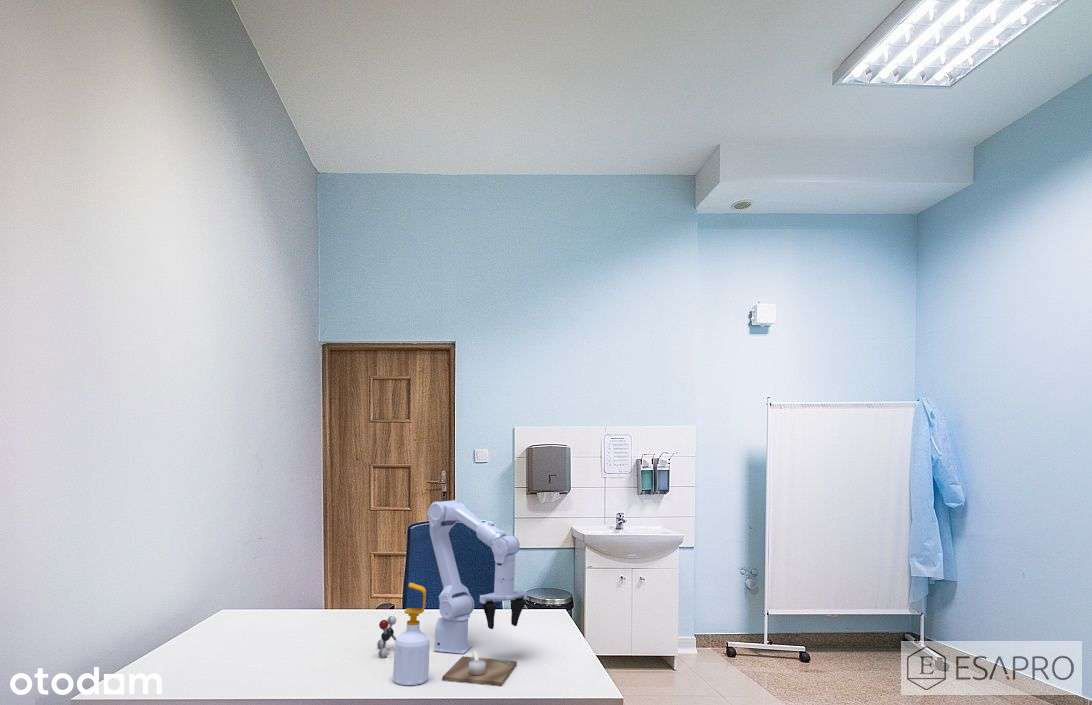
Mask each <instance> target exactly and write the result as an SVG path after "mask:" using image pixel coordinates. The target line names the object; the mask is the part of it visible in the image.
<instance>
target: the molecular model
mask: <svg viewBox="0 0 1092 705" xmlns="http://www.w3.org/2000/svg"><path fill="white" fill-rule="evenodd" d="M395 624H397V617H396V616H394V615H390V616H388V618H387V619H382V620H380V621H379V624H378V627H379V628H380V629H381V630H382V631H383V632H382V633H381V636H380V639H379V640H378V641H377V642H376V645H377V646H376V647H378V648H379V650H378V653H377V654H378V656H379V657H380V658H381V659H384V658H386V657H387V656H388V654H389V652H388V649H387V648H386V646H387V641H389V640H390V639H391V638H392V639H393V640H394V641H395V640H396V638H397V637H396V636H395V634H394V633H395V632H394V631H395V630H394V629H393V628H392V627H393V626H394V625H395Z"/></svg>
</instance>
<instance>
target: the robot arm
mask: <svg viewBox="0 0 1092 705" xmlns="http://www.w3.org/2000/svg"><path fill="white" fill-rule="evenodd" d="M426 514H427V519H428V523H429V536H430V539H431V540H430V541H431V543H432V548H433V552H434V555H435V560H436V564H437V568H438V572H439V575H440V579H441V584H442V588H443V589H442V590H441V593H439V595H438V601H439V608H438V609H439V614H440V616H441V617H439V618H437V621H436V623H435V629H434V630H435V632H434V648H433V652H438V651H439V652H440V653H451V654H460V655H461V654H463V655H464V654H465V653H466V652H468V650H470V648H471V647H472V644H468V635H469V632H468V631H469V619H470V618H471V614H472V613H473V612H474V608H475V601H474V598H473V597H472V595H471V594H470V592H469V591H470V590H469V588H467V587H466V585H464V584H463V583H462V581H461V578H460V574H459V570H458V566H457V563H456V558H455V555H454V554H455V553H454V550H453V546H452V542H451V539H450V535H449V533H450V531H451V529H452V528H453V527H454V525H456V524H457V522H460V523H462V524H463V525H465V526H466V527H468V528H469V529H471V530H473V531H474V532H476V537H477V538H478V539H479V540H480V541H481V542H483V543H484V544H485V545H487V546H488V547H490V548H491V551H492V554H493V556H494V557H493V558H494V562H495V563H494V584H493V586H494V588H493V592H491V593H487V594H480V595H479V603H480V605H481V607H482V608H483V611H484V614H485V619H486V622H487V628H488V629H490V630H494V628H495V614H496V610H497V605H496V604H495V602H505V601H509V602H510V608H511V618H510V620H511V621H510V622H511V625H512V626H513V627H517V626H518V623H519V619H520V616H521V614H522V611H523V609H524V608H525V606H526V600H528V592H526V591H523V590H521V591H520V590H519V591H515V575H516V574H515V572H516V569H515V567H516V554H518V552H519V550H520V546H521V545H520V541H519V539H518V538H517V537H516V535H515V534H506V531H505V530H501V529H499V527H498V526H497V525H496V526H495V523H494V522H493V521H484V522H483V521H482V520H481V519H479V517H477V516H476V515H475V514H474V513H473V512H472V511H470V510H469V509H468V508H466V505H465V504H464V503H462V502H461V501H460V500H457V499H452V500H444V501H433V502H432V503H431V504H430V507H429V508H428V510H427V512H426Z"/></svg>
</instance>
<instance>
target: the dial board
mask: <svg viewBox="0 0 1092 705" xmlns="http://www.w3.org/2000/svg"><path fill="white" fill-rule="evenodd" d="M478 660H481V661H485V662H486V666H485V674H483V675H472V674H469V662H470V661H473V656H463V655H462V656H461V657H460V658H459V659H458V660H457V661H456V662H455V663H454V664H453V665H452V666H451V667H450V668H449V669H448V670H447V671H446V672H445V673H444V674H443V675H442V679H441V681H442V680H448V681H447V682H453V681H457V682H456V683H463V682H468V683H467V684H473V683H479V684H478V685H484V684H491V685H490V686H494V685H499V686H498V687H502V686H503V685H502V684H504V683H505V682H506V680H507V679H508V678H509V676H510V675H511V674H510V673H512V672H513V671H514V669H515V668H516V667H517V665H518V661H517V660H508V659H507V660H506V659H496V658H485V657H478ZM516 664H517V665H516ZM515 666H516V667H515ZM514 667H515V668H514ZM512 670H513V671H512ZM511 671H512V672H511ZM509 674H510V675H509ZM507 677H508V678H507ZM504 681H505V682H504Z"/></svg>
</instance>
